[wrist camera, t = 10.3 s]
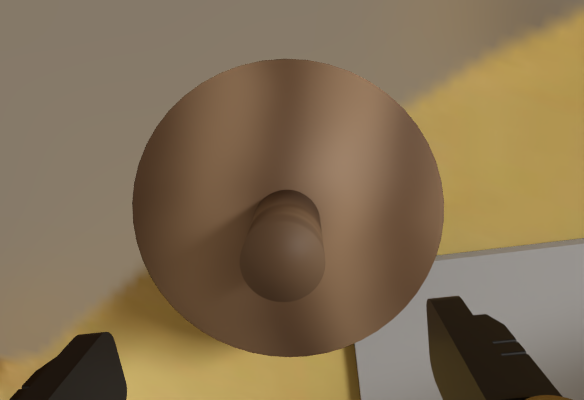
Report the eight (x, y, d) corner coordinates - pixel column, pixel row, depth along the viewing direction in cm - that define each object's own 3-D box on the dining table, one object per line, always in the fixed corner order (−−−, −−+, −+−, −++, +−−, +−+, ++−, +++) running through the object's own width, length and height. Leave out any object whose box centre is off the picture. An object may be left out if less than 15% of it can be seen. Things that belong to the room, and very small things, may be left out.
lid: (426, 37, 20) (480, 17, 14) (444, 327, 24) (492, 410, 18) (109, 85, 21) (30, 87, 15) (175, 357, 25) (134, 446, 19)
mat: (590, 237, 28) (598, 241, 28) (581, 437, 33) (588, 446, 32) (345, 266, 29) (346, 271, 29) (367, 457, 33) (369, 466, 33)
